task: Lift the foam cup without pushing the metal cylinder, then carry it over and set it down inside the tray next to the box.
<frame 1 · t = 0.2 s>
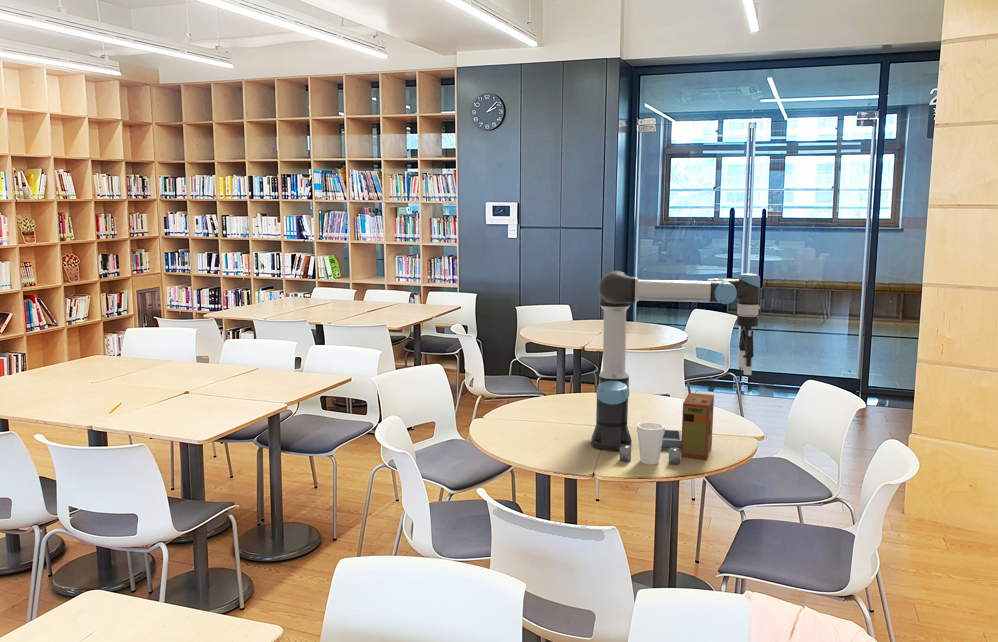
hand: (744, 371, 283), 28 cm above the table, tool pointing down, fingers open, 13 cm apart
tray: (662, 443, 285), on the table
foam cup: (649, 462, 264), on the table
box: (696, 452, 275), on the table
right post: (674, 463, 263), on the table
metal cylinder: (625, 460, 266), on the table
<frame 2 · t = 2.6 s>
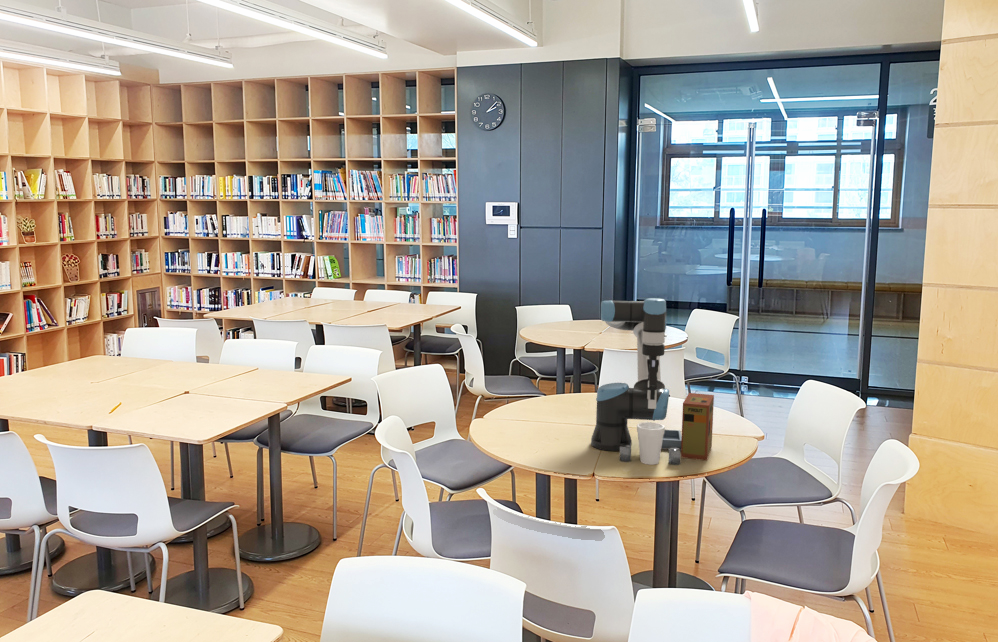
hand: (651, 403, 261), 21 cm above the table, tool pointing down, fingers open, 13 cm apart
nothing on the table moved.
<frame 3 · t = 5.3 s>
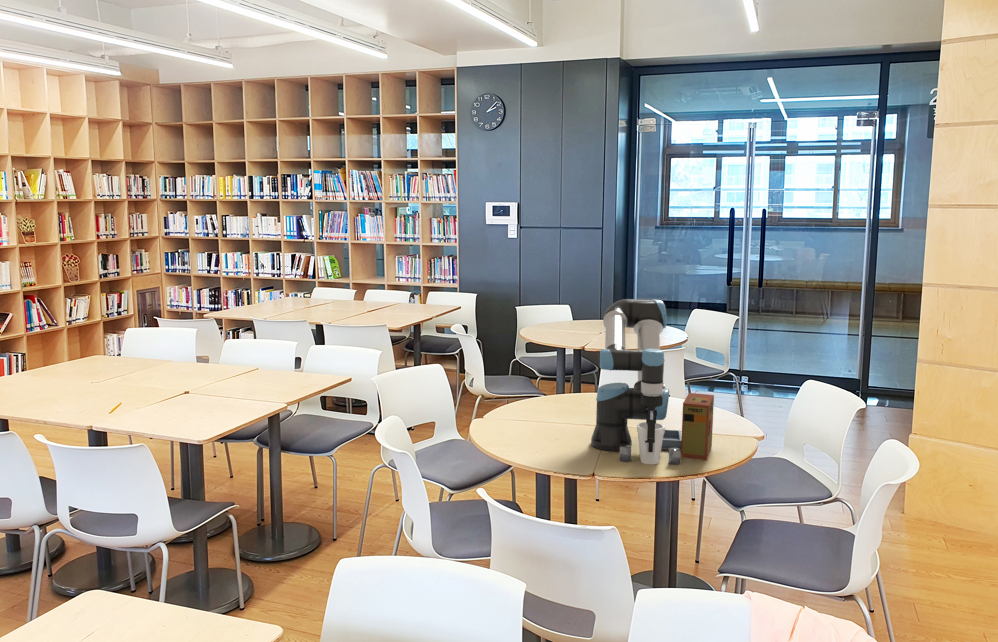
hand: (649, 455, 264), 2 cm above the table, tool pointing down, fingers closed on foam cup, 9 cm apart
foam cup: (649, 462, 264), on the table, touching gripper
everything else where it was.
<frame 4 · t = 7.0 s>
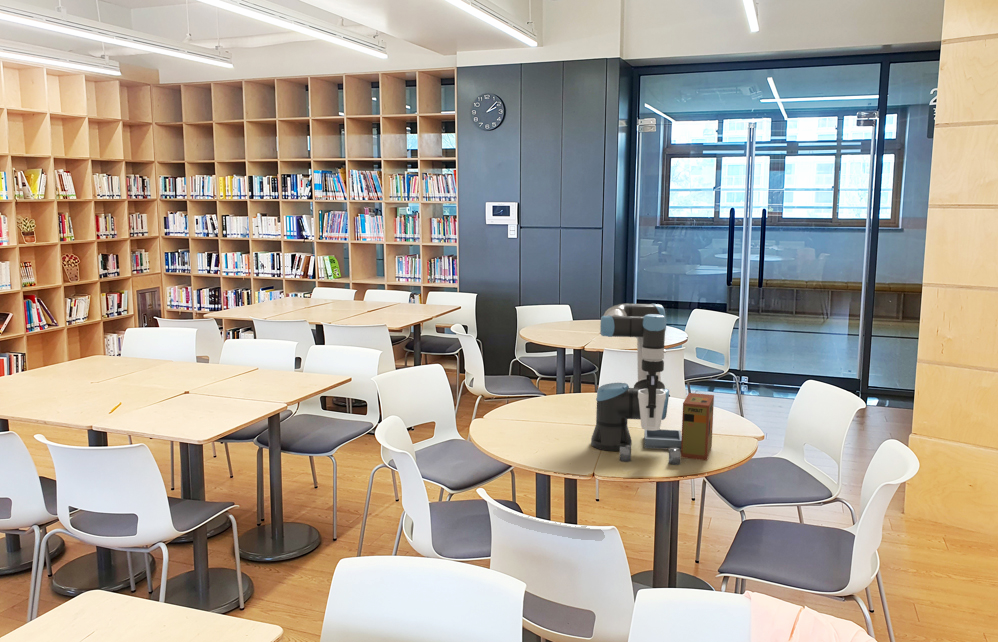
hand: (650, 422, 263), 14 cm above the table, tool pointing down, fingers closed on foam cup, 9 cm apart
foam cup: (650, 428, 263), point 12 cm above the table, touching gripper
everything else where it was.
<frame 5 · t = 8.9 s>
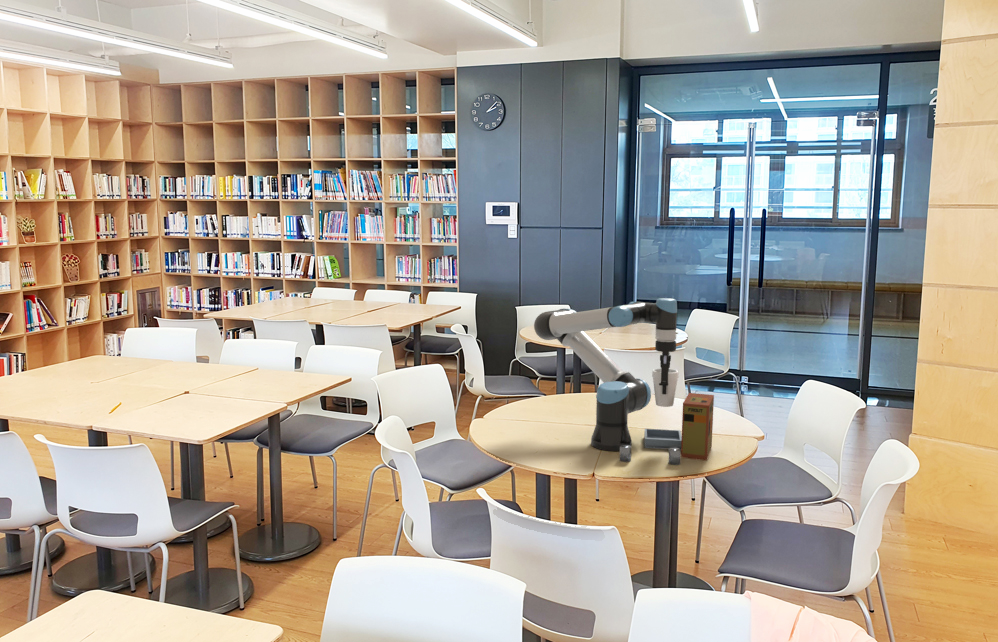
hand: (664, 399, 281), 18 cm above the table, tool pointing down, fingers closed on foam cup, 9 cm apart
foam cup: (664, 405, 281), point 15 cm above the table, touching gripper
everything else where it was.
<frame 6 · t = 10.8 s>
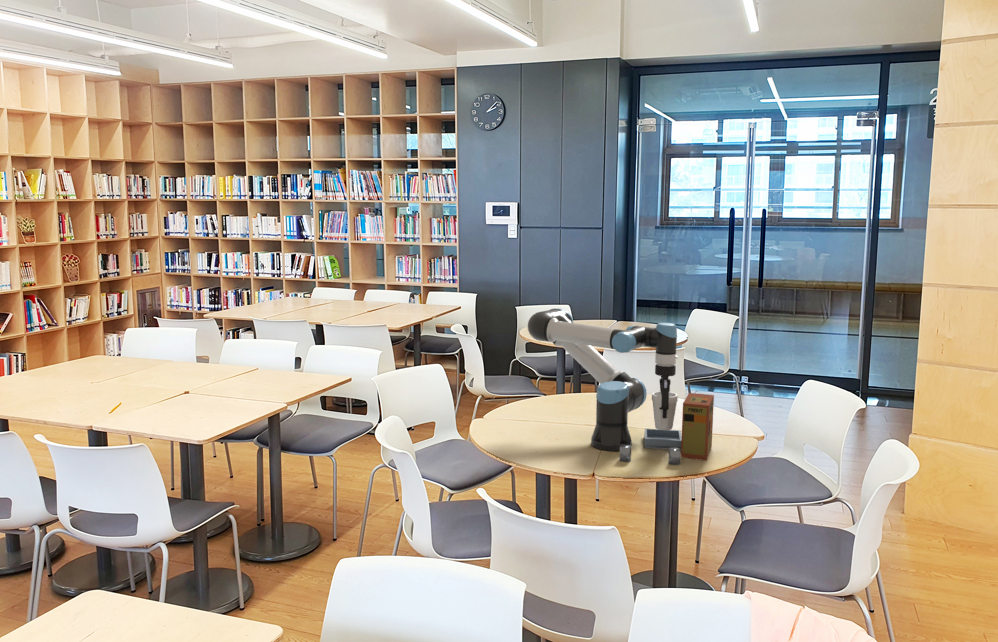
hand: (663, 422, 284), 8 cm above the table, tool pointing down, fingers closed on foam cup, 9 cm apart
foam cup: (663, 428, 284), point 6 cm above the table, touching gripper
everything else where it was.
when the fingers open (5 cm above the table, at t = 12.5 s): foam cup drops 1 cm, resting on tray.
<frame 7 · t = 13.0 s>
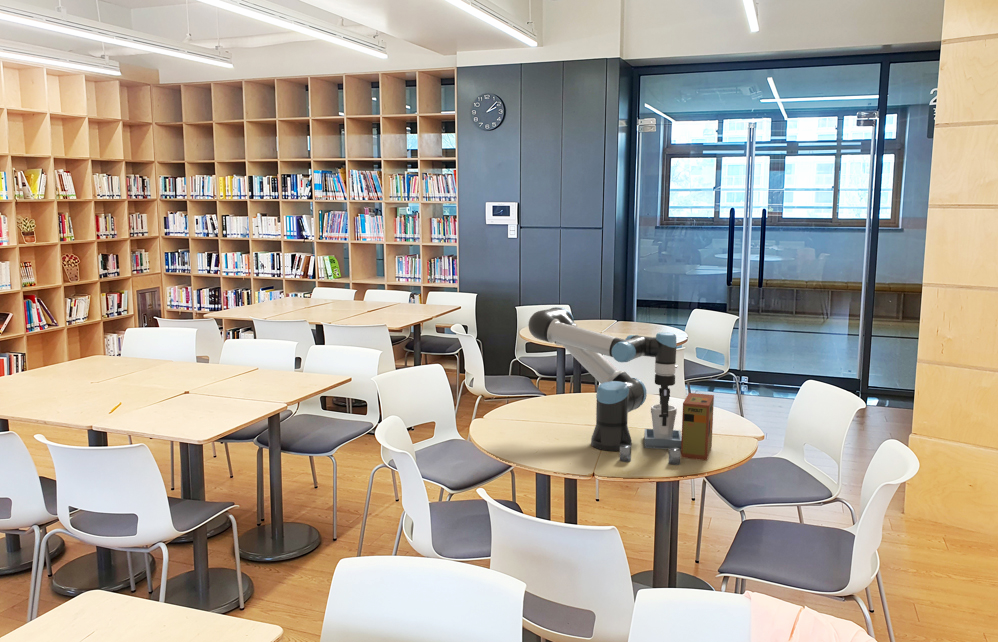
hand: (663, 428, 285), 6 cm above the table, tool pointing down, fingers open, 13 cm apart
foam cup: (662, 441, 285), point 1 cm above the table, touching tray
everything else where it was.
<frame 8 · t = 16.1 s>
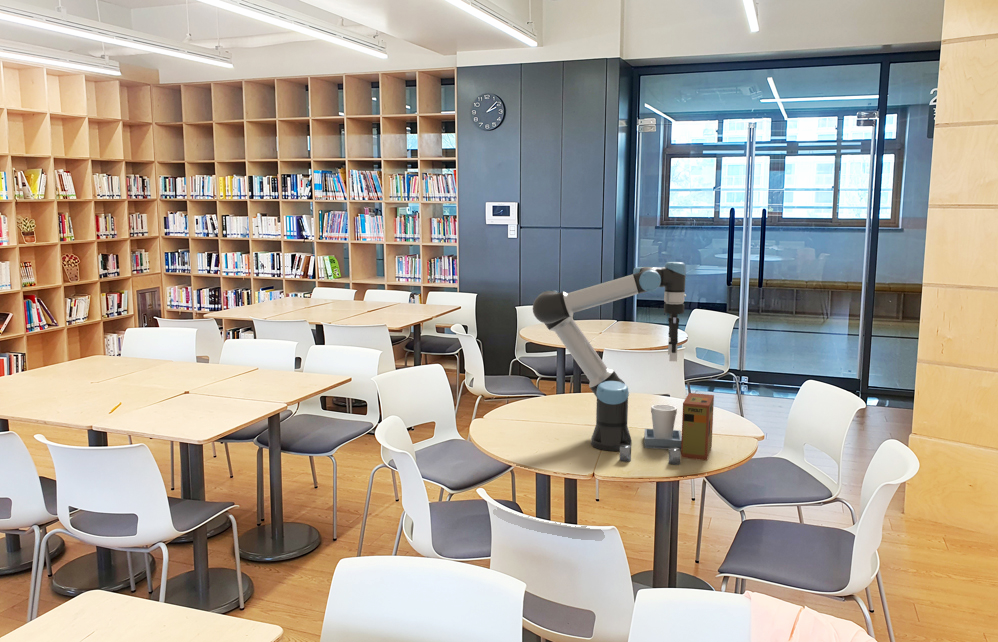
hand: (672, 357, 288), 32 cm above the table, tool pointing down, fingers open, 13 cm apart
nothing on the table moved.
at the end: foam cup 0.3 cm off-centre on the tray, point 0.8 cm above the tray's base; metal cylinder moved 0.1 cm from its start; right post moved 0.1 cm from its start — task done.
